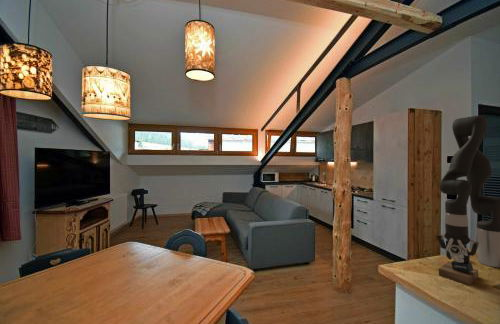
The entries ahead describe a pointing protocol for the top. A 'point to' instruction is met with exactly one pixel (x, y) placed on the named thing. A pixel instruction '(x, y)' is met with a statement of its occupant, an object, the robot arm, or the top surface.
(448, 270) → the plinth
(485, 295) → the top surface
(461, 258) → the watch
